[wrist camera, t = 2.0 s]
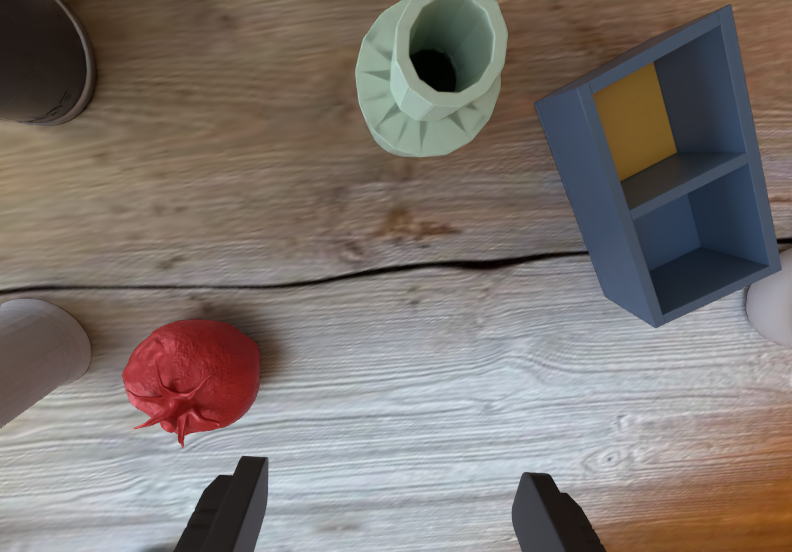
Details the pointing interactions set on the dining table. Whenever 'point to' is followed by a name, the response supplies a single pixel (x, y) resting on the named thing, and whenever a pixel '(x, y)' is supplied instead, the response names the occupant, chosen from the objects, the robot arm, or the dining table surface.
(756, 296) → the donut
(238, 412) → the pomegranate
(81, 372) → the glass holder
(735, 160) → the blue divided storage box
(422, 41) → the bottle
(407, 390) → the dining table surface
